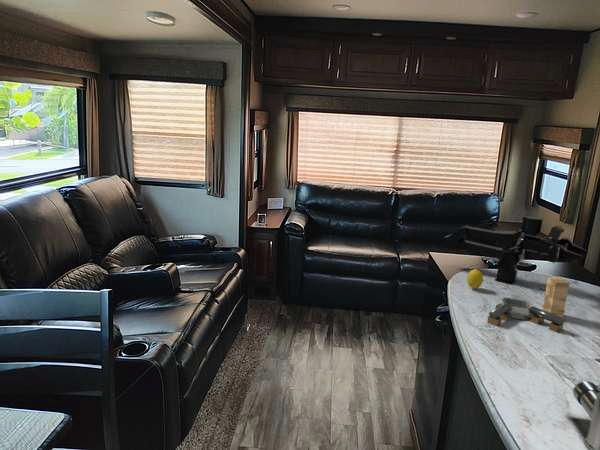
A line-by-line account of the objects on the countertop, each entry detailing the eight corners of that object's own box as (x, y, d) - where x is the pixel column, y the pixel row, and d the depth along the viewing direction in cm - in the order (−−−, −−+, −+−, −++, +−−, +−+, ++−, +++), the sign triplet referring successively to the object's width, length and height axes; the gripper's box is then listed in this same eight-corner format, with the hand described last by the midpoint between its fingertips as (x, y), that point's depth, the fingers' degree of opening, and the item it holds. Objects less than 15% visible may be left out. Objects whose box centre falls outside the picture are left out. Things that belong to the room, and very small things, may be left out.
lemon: (479, 286, 173) (481, 267, 171) (483, 292, 167) (486, 271, 166) (464, 285, 173) (466, 266, 171) (468, 291, 168) (470, 270, 166)
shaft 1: (502, 314, 148) (504, 302, 147) (511, 318, 145) (513, 305, 144) (486, 322, 142) (488, 309, 141) (496, 326, 139) (498, 313, 138)
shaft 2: (526, 319, 145) (529, 307, 144) (533, 317, 146) (535, 305, 145) (557, 332, 136) (559, 319, 135) (563, 330, 138) (565, 317, 137)
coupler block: (541, 312, 151) (547, 277, 148) (555, 312, 151) (561, 277, 148) (549, 318, 146) (555, 282, 144) (563, 318, 147) (569, 282, 144)
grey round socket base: (494, 302, 158) (495, 294, 157) (531, 308, 154) (533, 299, 153) (496, 316, 146) (498, 307, 146) (537, 322, 143) (539, 313, 142)
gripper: (535, 228, 162) (584, 237, 152) (548, 221, 175) (595, 229, 165) (529, 257, 164) (578, 268, 155) (543, 248, 178) (588, 257, 168)
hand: (585, 255), depth 161 cm, fingers open, 9 cm apart
